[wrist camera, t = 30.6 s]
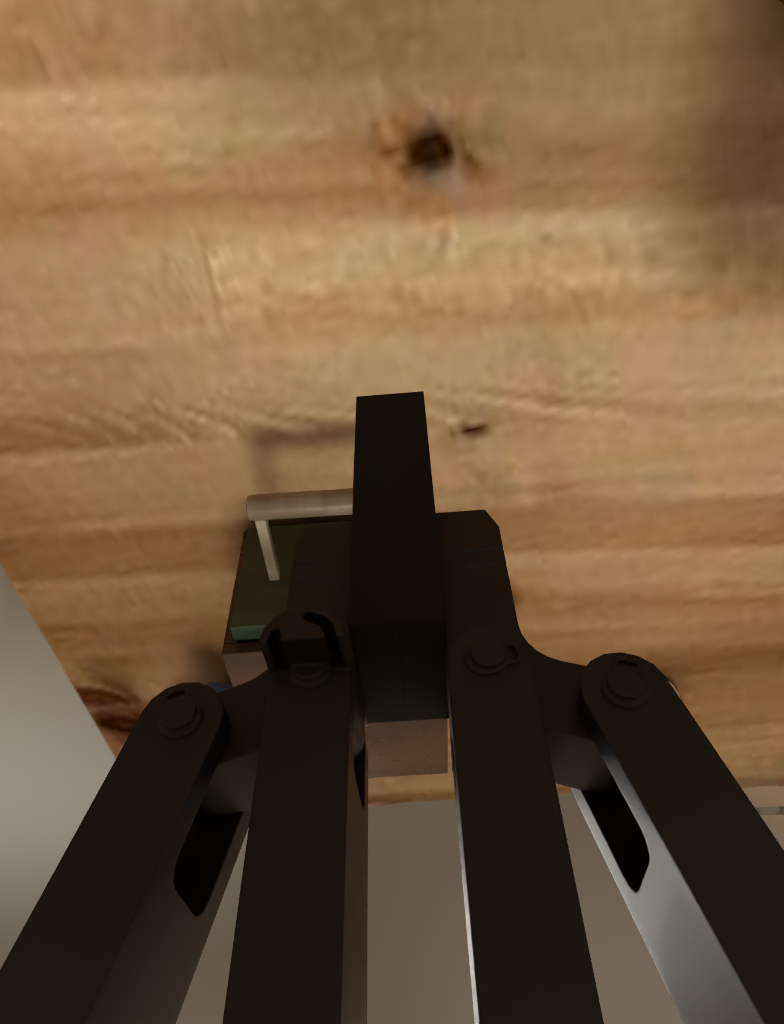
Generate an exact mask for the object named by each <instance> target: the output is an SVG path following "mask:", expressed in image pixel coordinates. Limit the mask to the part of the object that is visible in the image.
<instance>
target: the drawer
mask: <svg viewBox="0 0 784 1024" xmlns="http://www.w3.org/2000/svg"><path fill="white" fill-rule="evenodd" d="M352 505H353V488H352V489H337V490H321V491H306V492H290V493H275V494H259V495H249V496H248V497H247V502H246V508H247V515H248V518H249V520H250V521H255V524H256V527H249V528H248V531H247V537H246V542H245V548H244V553H243V559H242V564H241V570H240V575H239V581H238V586H237V592H236V597H235V603H234V608H233V614H232V619H231V625H230V629H231V632H232V635H233V638H234V640H252V639H253V642H259V639H260V637H261V634H262V632H263V629H264V627H265V626H266V625H267V624H268V623H269V622H270V621H271V620H272V619H273V618H274V617H275V616H277V615H279V614H281V613H282V612H284V611H286V610H287V603H288V595H289V587H290V584H291V580H290V579H291V571H292V567H293V555H294V547H295V542H296V541H297V539H298V538H299V536H300V535H301V533H302V532H303V530H304V529H305V528H306V526H307V525H308V524H295V525H279V526H269V523H268V520H272V519H288V518H303V517H319V516H335V515H350V514H352ZM342 522H346V521H342ZM326 523H333V522H326ZM310 524H319V523H310Z"/></svg>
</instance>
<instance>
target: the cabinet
mask: <svg viewBox="0 0 784 1024" xmlns="http://www.w3.org/2000/svg"><path fill="white" fill-rule="evenodd" d="M246 537H247V532H244V536H243V542H242V547H241V552H240V558H239V563H238V569H237V574H236V579H235V585H234V590H233V595H232V601H231V606H230V611H229V617H228V622H227V628H226V633H225V638H224V645H223V650H222V657H223V660H224V663H225V665H226V668H227V671H228V674H229V677H230V680H231V682H232V685H233V687H235V686H237V685H240V684H243V683H245V682H248V681H250V680H252V679H254V678H256V677H257V676H259V675H260V674H262V673H263V672H264V671H266V670H267V669H268V667H267V664H266V661H265V658H264V655H263V652H262V649H261V646H260V643H259V642H253V639H252V640H234V638H233V635H232V632H231V629H230V625H231V619H232V614H233V608H234V603H235V597H236V592H237V586H238V581H239V575H240V570H241V564H242V559H243V553H244V548H245V542H246ZM365 740H366V745H367V750H368V778H373V777H390V776H407V775H424V774H441V773H447V772H448V738H447V719H431V720H415V721H399V722H383V723H367V721H366V716H365Z"/></svg>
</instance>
